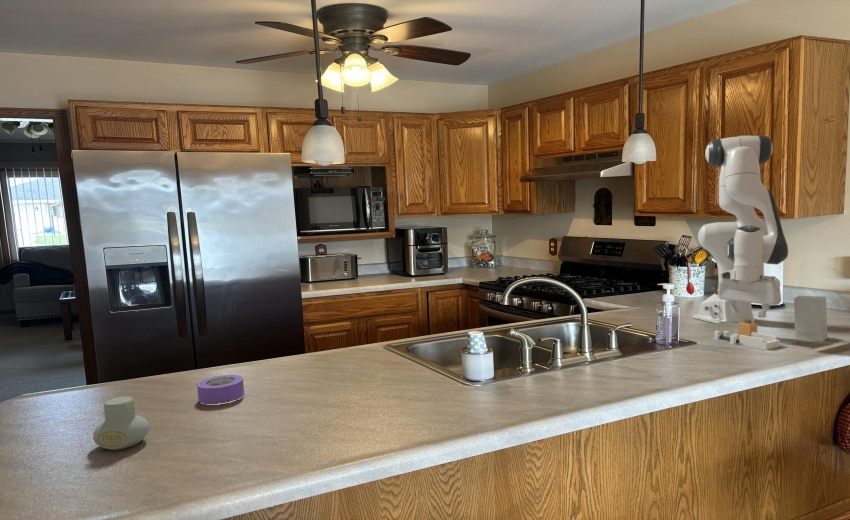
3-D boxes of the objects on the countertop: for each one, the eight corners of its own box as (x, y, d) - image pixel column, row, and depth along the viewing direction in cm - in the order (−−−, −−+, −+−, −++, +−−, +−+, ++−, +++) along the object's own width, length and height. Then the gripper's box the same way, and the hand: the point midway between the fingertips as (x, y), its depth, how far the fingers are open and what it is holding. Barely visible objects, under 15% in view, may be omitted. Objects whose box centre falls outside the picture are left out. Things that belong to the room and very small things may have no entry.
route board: (706, 341, 198) (706, 330, 198) (739, 334, 207) (739, 323, 206) (763, 353, 181) (763, 340, 180) (797, 345, 189) (797, 333, 189)
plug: (738, 337, 198) (738, 319, 198) (745, 335, 200) (745, 318, 200) (749, 339, 195) (749, 321, 194) (757, 337, 197) (757, 320, 196)
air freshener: (156, 436, 132) (152, 393, 131) (139, 451, 124) (135, 405, 123) (107, 438, 132) (103, 395, 131) (87, 453, 124) (83, 408, 123)
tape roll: (196, 408, 150) (194, 389, 150) (200, 395, 162) (199, 377, 161) (243, 402, 153) (242, 384, 153) (245, 389, 165) (243, 372, 164)
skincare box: (827, 340, 193) (828, 296, 192) (822, 344, 189) (823, 299, 188) (798, 337, 199) (799, 294, 198) (793, 340, 195) (793, 296, 194)
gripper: (785, 276, 187) (785, 318, 188) (726, 272, 206) (726, 311, 206) (773, 277, 185) (773, 320, 185) (715, 273, 203) (715, 312, 203)
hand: (748, 315), depth 196 cm, fingers open, 8 cm apart
